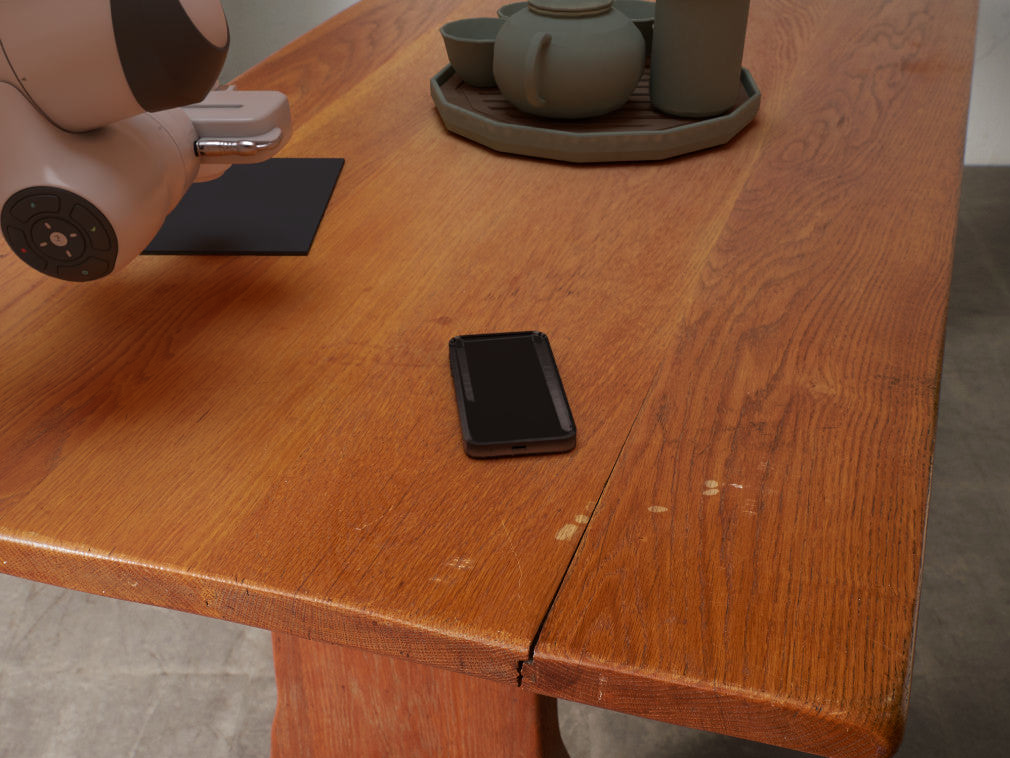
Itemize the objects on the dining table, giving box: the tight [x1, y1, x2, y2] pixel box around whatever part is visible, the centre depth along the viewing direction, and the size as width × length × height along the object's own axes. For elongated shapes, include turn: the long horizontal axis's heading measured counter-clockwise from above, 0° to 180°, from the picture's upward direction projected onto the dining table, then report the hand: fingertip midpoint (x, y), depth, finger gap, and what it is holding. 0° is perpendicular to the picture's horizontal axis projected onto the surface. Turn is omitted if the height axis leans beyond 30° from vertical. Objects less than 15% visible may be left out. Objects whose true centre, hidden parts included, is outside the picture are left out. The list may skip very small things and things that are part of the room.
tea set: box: [429, 0, 762, 164], centre depth 120 cm, size 40×40×16 cm
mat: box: [139, 157, 346, 256], centre depth 102 cm, size 18×24×1 cm
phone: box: [448, 330, 578, 459], centre depth 74 cm, size 8×1×15 cm
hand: (185, 94), depth 86 cm, fingers closed on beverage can, 6 cm apart
